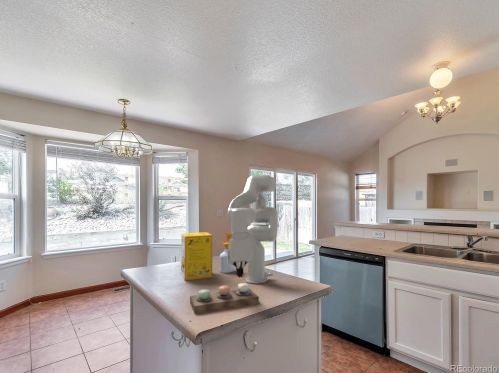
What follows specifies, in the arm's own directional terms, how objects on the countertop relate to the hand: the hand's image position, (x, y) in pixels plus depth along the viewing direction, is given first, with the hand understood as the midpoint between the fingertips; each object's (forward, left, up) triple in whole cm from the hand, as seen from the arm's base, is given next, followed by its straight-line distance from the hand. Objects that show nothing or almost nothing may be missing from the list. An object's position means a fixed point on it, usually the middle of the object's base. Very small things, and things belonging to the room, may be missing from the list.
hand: (239, 276), depth 118 cm
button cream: (-2, 0, -6) cm, 6 cm away
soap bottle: (-9, -51, -11) cm, 53 cm away
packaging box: (+11, -49, -11) cm, 51 cm away
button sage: (+16, 0, -7) cm, 18 cm away
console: (+7, 0, -11) cm, 13 cm away
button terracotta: (+7, 0, -6) cm, 10 cm away
